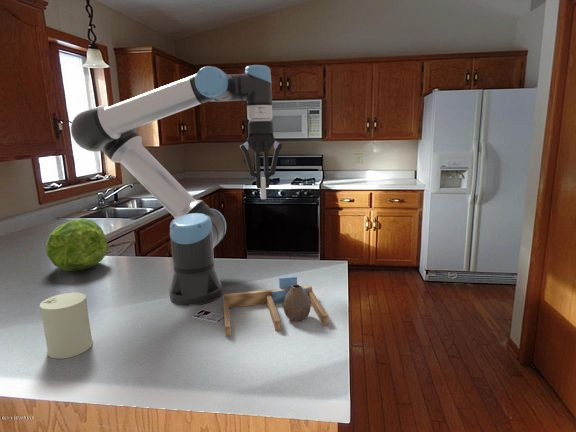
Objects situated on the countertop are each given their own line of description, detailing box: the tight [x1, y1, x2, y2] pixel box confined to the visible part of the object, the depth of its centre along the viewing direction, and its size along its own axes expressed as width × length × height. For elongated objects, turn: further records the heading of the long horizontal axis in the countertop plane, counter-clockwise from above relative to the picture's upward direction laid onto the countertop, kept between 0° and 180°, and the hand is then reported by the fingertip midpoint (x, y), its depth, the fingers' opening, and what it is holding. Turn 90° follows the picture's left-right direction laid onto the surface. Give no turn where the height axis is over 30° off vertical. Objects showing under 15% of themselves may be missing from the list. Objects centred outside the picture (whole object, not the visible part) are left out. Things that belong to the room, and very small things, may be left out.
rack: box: [222, 285, 329, 337], centre depth 104 cm, size 25×17×4 cm
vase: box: [282, 283, 312, 323], centre depth 101 cm, size 7×7×9 cm
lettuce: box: [45, 218, 109, 272], centre depth 144 cm, size 19×23×18 cm
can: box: [39, 291, 94, 360], centre depth 90 cm, size 9×9×12 cm
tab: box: [278, 275, 298, 289], centre depth 114 cm, size 5×1×6 cm, turn 100°
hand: (263, 198), depth 125 cm, fingers closed
